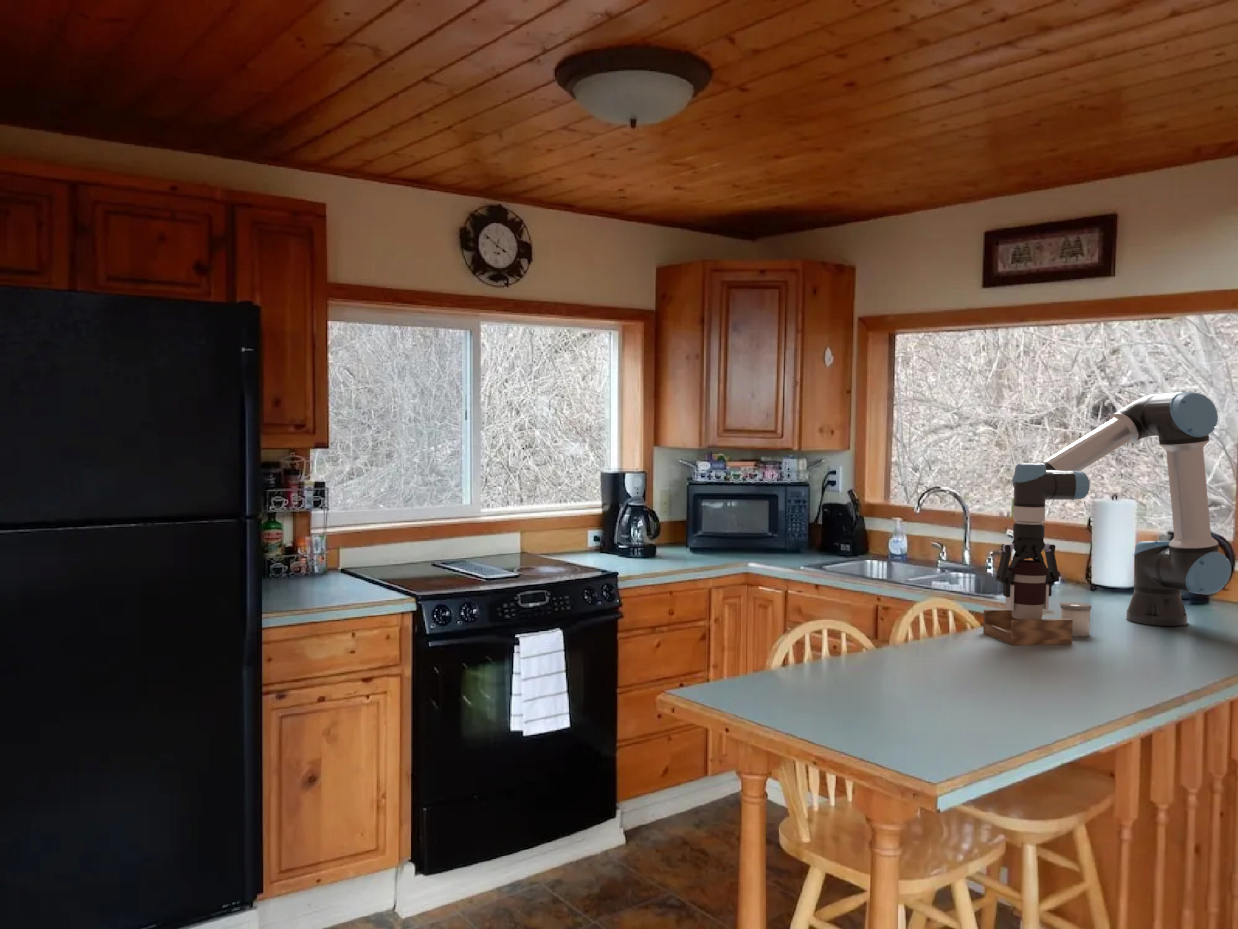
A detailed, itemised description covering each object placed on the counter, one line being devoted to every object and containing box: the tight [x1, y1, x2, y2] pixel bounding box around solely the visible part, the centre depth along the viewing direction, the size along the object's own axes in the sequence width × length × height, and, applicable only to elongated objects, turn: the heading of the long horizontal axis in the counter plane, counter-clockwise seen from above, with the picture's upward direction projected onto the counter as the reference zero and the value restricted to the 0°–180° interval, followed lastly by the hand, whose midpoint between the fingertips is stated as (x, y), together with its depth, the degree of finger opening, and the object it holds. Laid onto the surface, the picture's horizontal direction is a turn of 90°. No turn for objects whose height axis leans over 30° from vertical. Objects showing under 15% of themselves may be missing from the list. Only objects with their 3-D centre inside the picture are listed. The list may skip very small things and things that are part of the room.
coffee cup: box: [1008, 559, 1049, 620], centre depth 253 cm, size 10×10×15 cm
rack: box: [982, 608, 1073, 646], centre depth 253 cm, size 16×15×6 cm
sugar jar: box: [1059, 601, 1092, 637], centre depth 259 cm, size 8×8×8 cm
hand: (1026, 609), depth 253 cm, fingers closed on coffee cup, 9 cm apart
